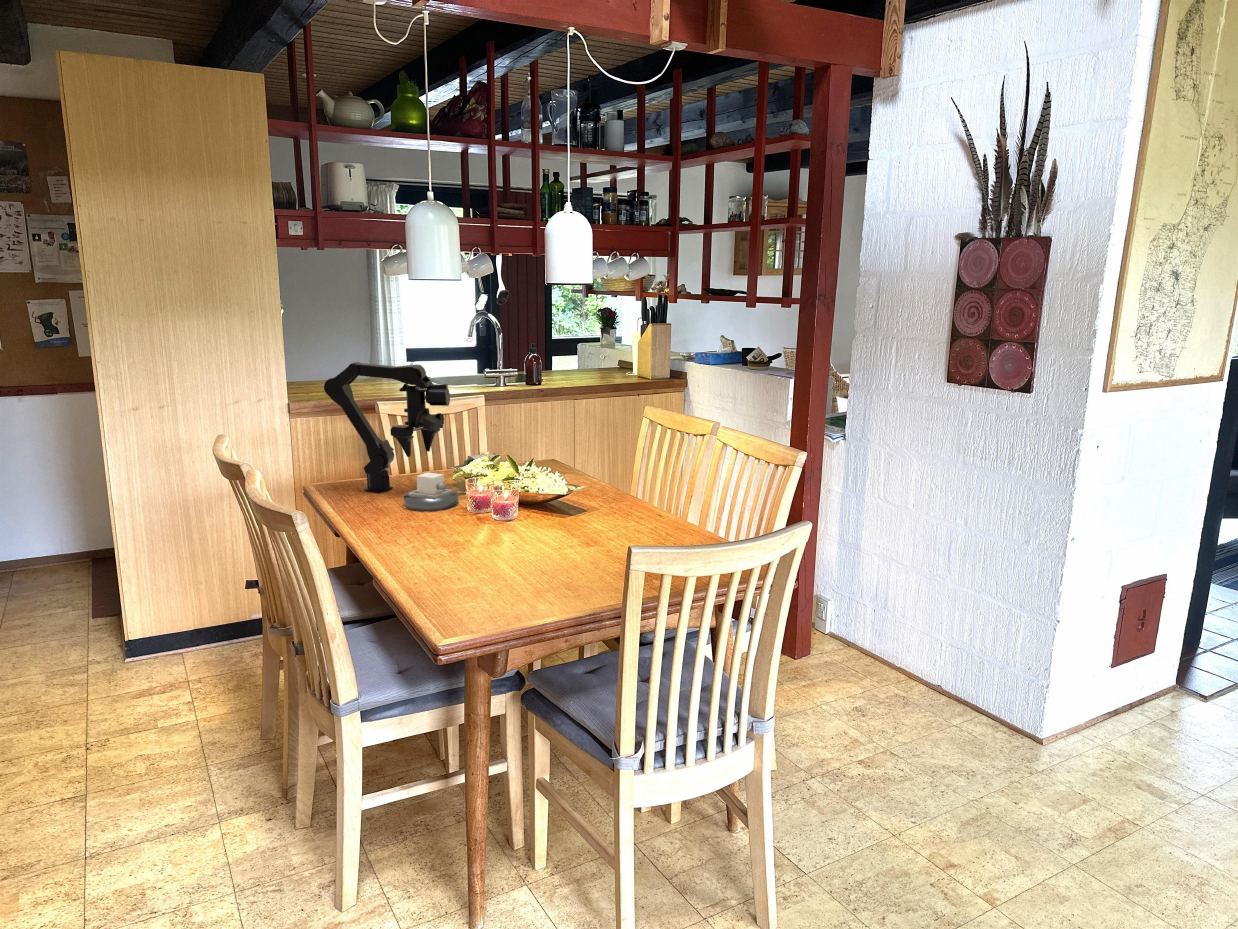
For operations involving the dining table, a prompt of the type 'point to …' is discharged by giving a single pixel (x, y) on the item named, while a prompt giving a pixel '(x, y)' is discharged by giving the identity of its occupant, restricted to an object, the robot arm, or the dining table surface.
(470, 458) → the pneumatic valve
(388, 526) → the dining table surface
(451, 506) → the grey shallow dish
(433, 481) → the pump block
